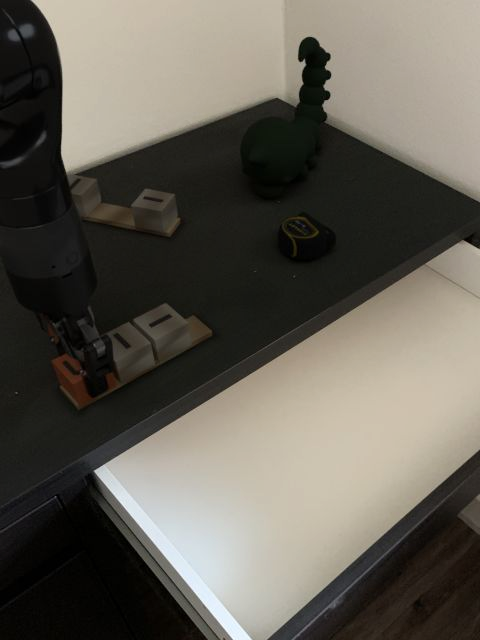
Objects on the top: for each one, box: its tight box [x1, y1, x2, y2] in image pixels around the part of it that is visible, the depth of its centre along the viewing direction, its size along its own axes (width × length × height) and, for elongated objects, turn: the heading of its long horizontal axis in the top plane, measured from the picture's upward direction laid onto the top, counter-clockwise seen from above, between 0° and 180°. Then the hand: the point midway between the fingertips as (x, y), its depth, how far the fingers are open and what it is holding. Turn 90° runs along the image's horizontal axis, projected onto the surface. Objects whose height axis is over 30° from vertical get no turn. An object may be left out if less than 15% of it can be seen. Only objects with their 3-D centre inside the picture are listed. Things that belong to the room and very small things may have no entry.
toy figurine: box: [239, 36, 332, 200], centre depth 97 cm, size 9×19×25 cm
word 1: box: [67, 173, 182, 238], centre depth 93 cm, size 17×4×4 cm, turn 73°
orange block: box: [51, 354, 117, 406], centre depth 71 cm, size 4×4×4 cm
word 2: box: [59, 302, 213, 411], centre depth 74 cm, size 18×4×4 cm, turn 132°
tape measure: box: [277, 211, 337, 261], centre depth 90 cm, size 7×7×4 cm
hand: (86, 378), depth 72 cm, fingers closed on orange block, 4 cm apart
